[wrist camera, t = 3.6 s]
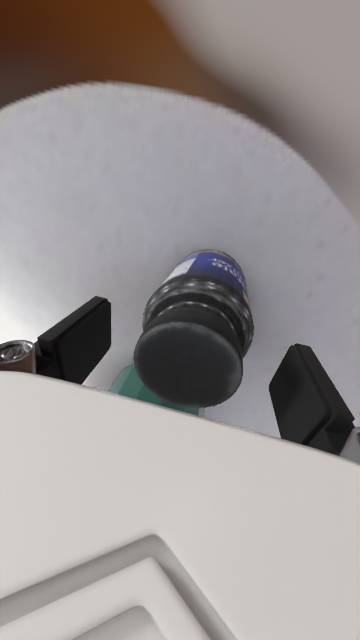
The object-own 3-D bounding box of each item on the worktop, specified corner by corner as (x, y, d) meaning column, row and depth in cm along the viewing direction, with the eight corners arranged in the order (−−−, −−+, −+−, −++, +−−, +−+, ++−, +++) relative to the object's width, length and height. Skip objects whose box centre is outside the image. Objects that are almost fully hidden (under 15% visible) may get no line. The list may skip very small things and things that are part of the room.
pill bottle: (258, 289, 17) (296, 390, 8) (203, 326, 20) (182, 434, 11) (212, 230, 16) (191, 269, 7) (159, 279, 19) (90, 356, 9)
